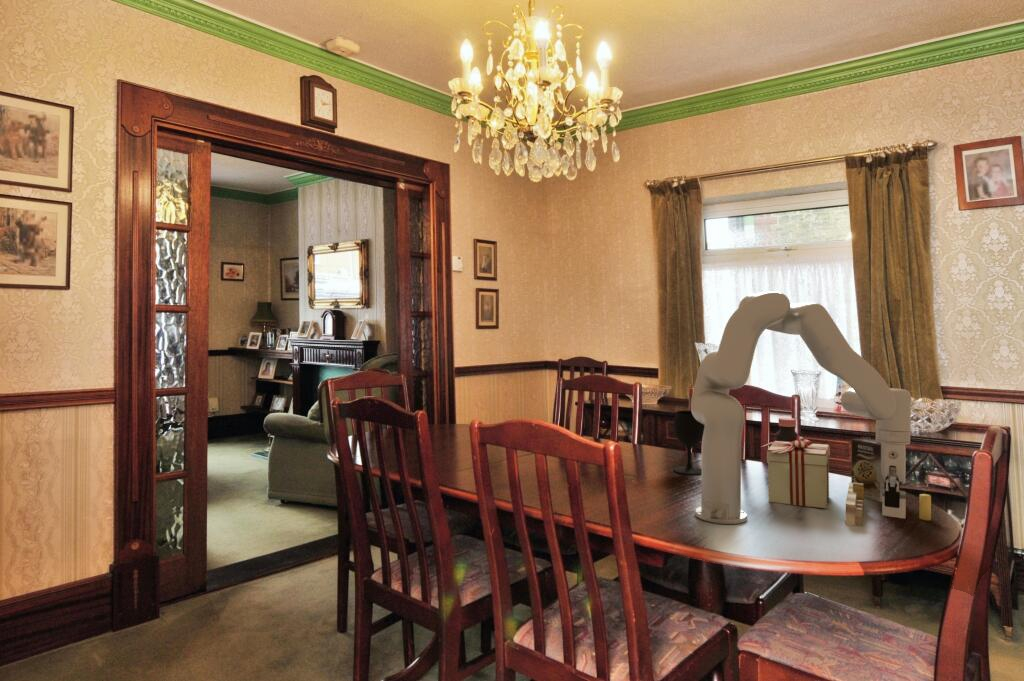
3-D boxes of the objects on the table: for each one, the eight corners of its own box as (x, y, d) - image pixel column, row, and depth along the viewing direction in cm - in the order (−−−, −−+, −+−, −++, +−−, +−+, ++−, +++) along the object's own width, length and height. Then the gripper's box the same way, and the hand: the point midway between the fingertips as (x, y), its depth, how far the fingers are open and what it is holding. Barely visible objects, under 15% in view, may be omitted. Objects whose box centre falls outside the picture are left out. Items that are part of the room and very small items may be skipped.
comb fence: (861, 526, 146) (862, 497, 146) (845, 524, 148) (845, 495, 147) (863, 502, 166) (864, 476, 166) (849, 500, 168) (849, 475, 168)
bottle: (794, 480, 190) (794, 417, 190) (802, 485, 184) (802, 420, 183) (771, 479, 191) (772, 417, 191) (779, 485, 184) (779, 420, 184)
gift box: (760, 488, 181) (760, 431, 180) (829, 495, 173) (829, 436, 172) (756, 503, 165) (756, 441, 165) (831, 512, 157) (832, 446, 157)
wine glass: (679, 466, 209) (679, 409, 209) (709, 470, 203) (709, 411, 203) (668, 472, 201) (668, 412, 201) (699, 476, 195) (699, 415, 194)
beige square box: (905, 518, 152) (906, 495, 152) (882, 515, 154) (882, 492, 154) (905, 514, 155) (905, 491, 155) (882, 511, 158) (882, 488, 158)
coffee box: (850, 494, 174) (850, 439, 174) (865, 491, 177) (865, 437, 176) (880, 502, 166) (880, 444, 165) (895, 500, 168) (896, 442, 168)
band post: (931, 520, 150) (931, 497, 150) (919, 519, 151) (919, 495, 151) (930, 518, 152) (930, 494, 152) (919, 516, 153) (919, 493, 153)
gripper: (911, 443, 145) (910, 513, 146) (908, 433, 160) (907, 496, 160) (875, 440, 149) (874, 508, 150) (875, 430, 164) (874, 492, 164)
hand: (891, 502), depth 155 cm, fingers open, 9 cm apart
